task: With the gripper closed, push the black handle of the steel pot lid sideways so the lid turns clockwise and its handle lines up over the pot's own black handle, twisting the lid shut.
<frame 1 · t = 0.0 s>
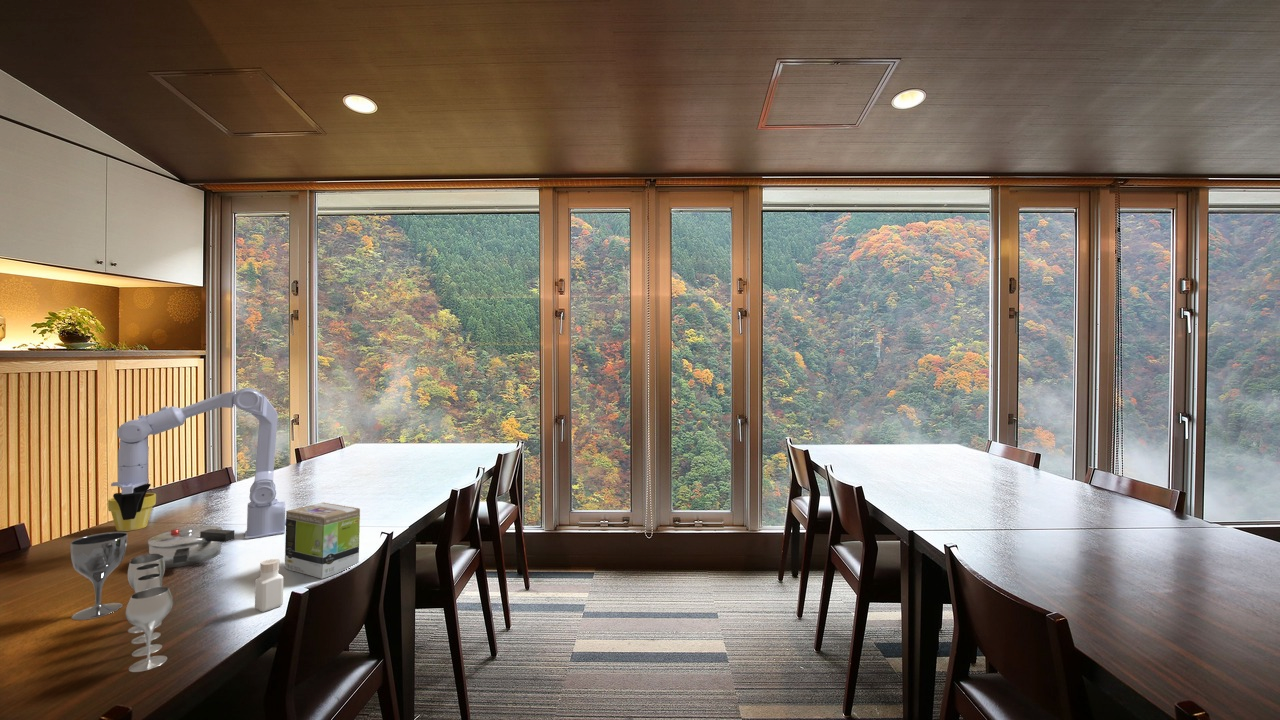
hand: (132, 515, 134), 10 cm above the table, tool pointing down, fingers open, 7 cm apart
wine glass: (97, 612, 103), on the table
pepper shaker: (268, 608, 105), on the table
cooker pot: (185, 557, 132), on the table
plant pot: (131, 528, 155), on the table
cooker lid: (196, 534, 131), point 6 cm above the table, hinge at 45.0°
tea box: (322, 568, 126), on the table
goblet set: (146, 640, 93), on the table
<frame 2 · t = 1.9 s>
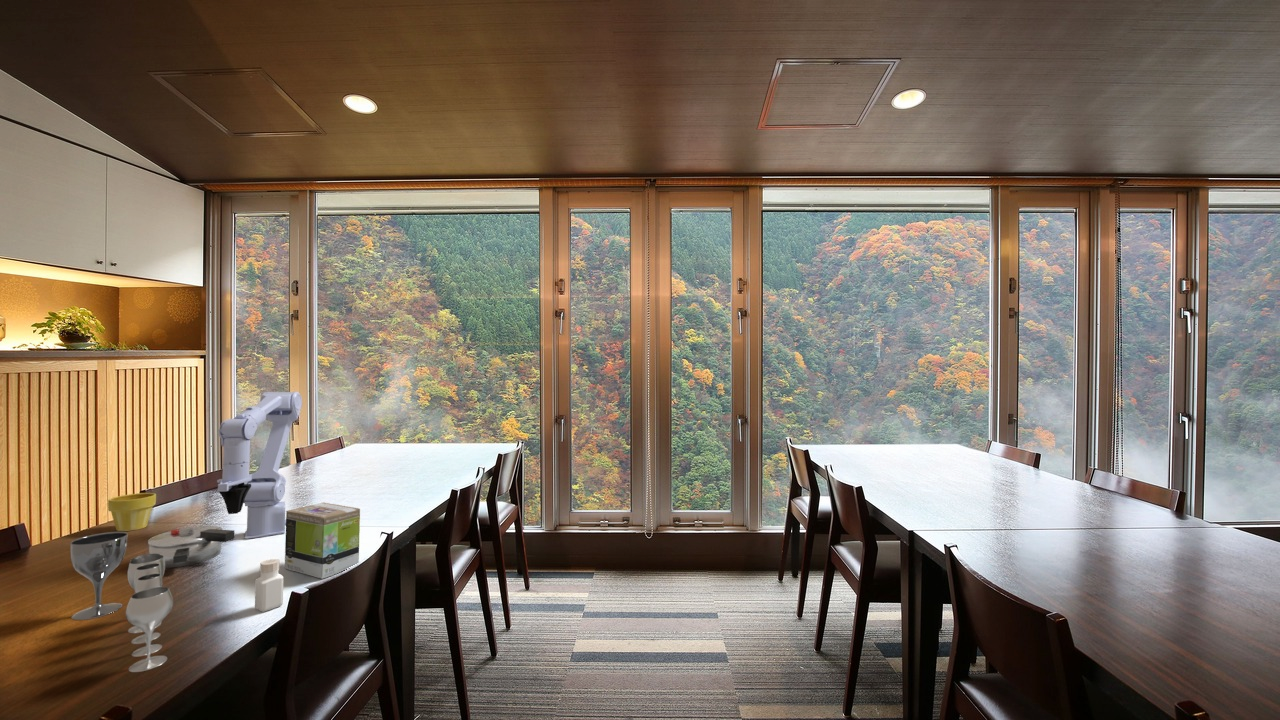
hand: (234, 512, 137), 10 cm above the table, tool pointing down, fingers closed
nothing on the table moved.
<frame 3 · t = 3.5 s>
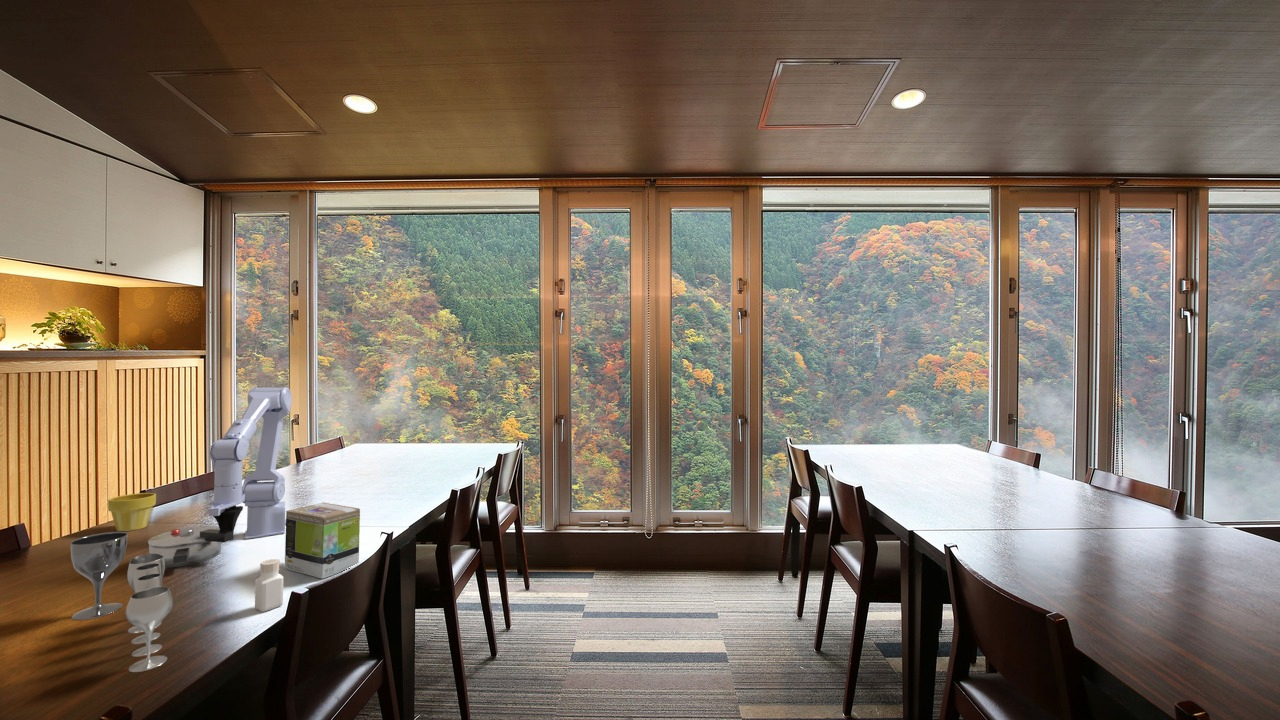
hand: (227, 535, 133), 5 cm above the table, tool pointing down, fingers closed
cooker lid: (195, 534, 131), point 6 cm above the table, hinge at 44.0°, touching gripper
everything else where it was.
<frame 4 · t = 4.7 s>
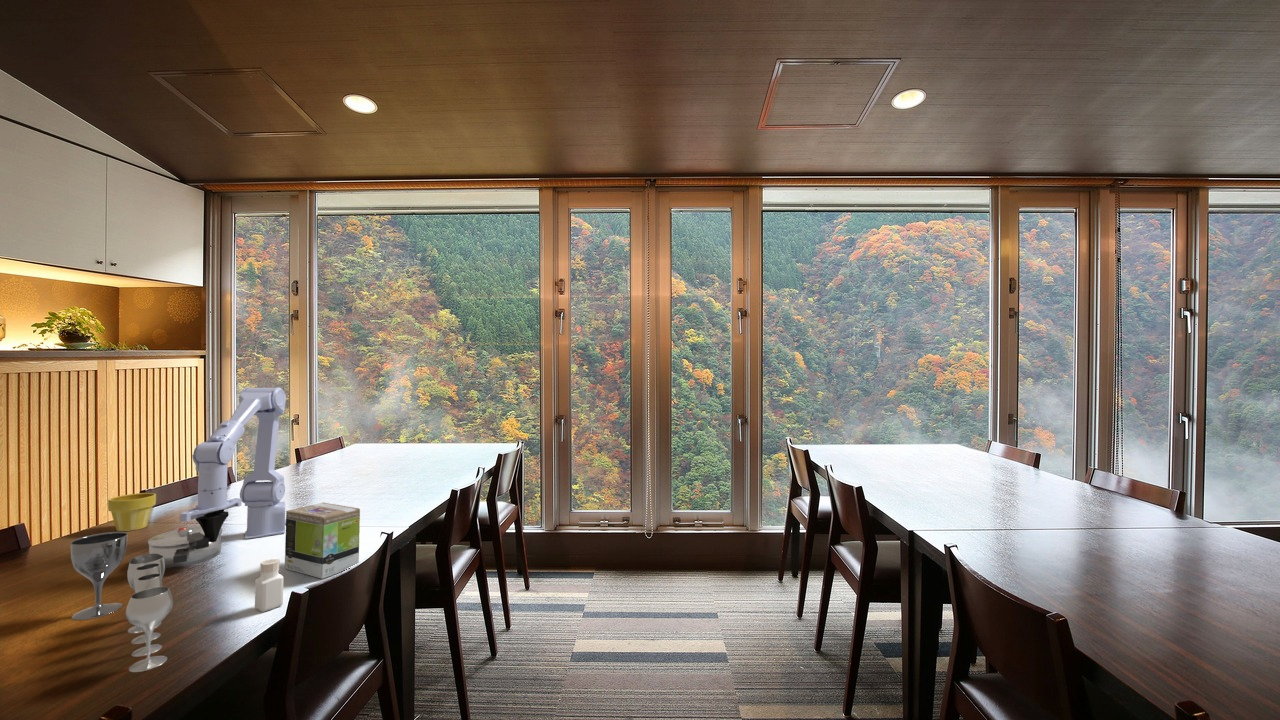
hand: (211, 541, 128), 5 cm above the table, tool pointing down, fingers closed
cooker lid: (190, 535, 130), point 6 cm above the table, hinge at 18.3°, touching gripper
everything else where it was.
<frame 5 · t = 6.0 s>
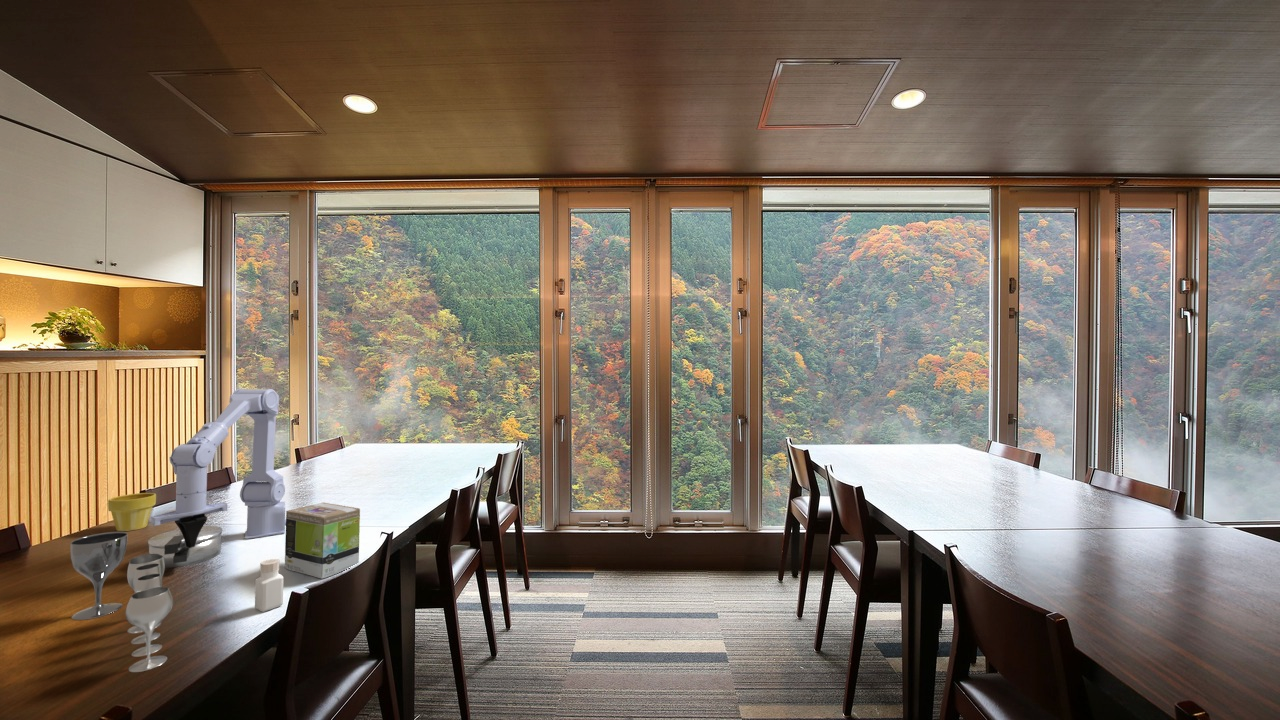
hand: (190, 546, 125), 5 cm above the table, tool pointing down, fingers closed
cooker lid: (183, 536, 129), point 6 cm above the table, hinge at -7.2°, touching gripper
everything else where it was.
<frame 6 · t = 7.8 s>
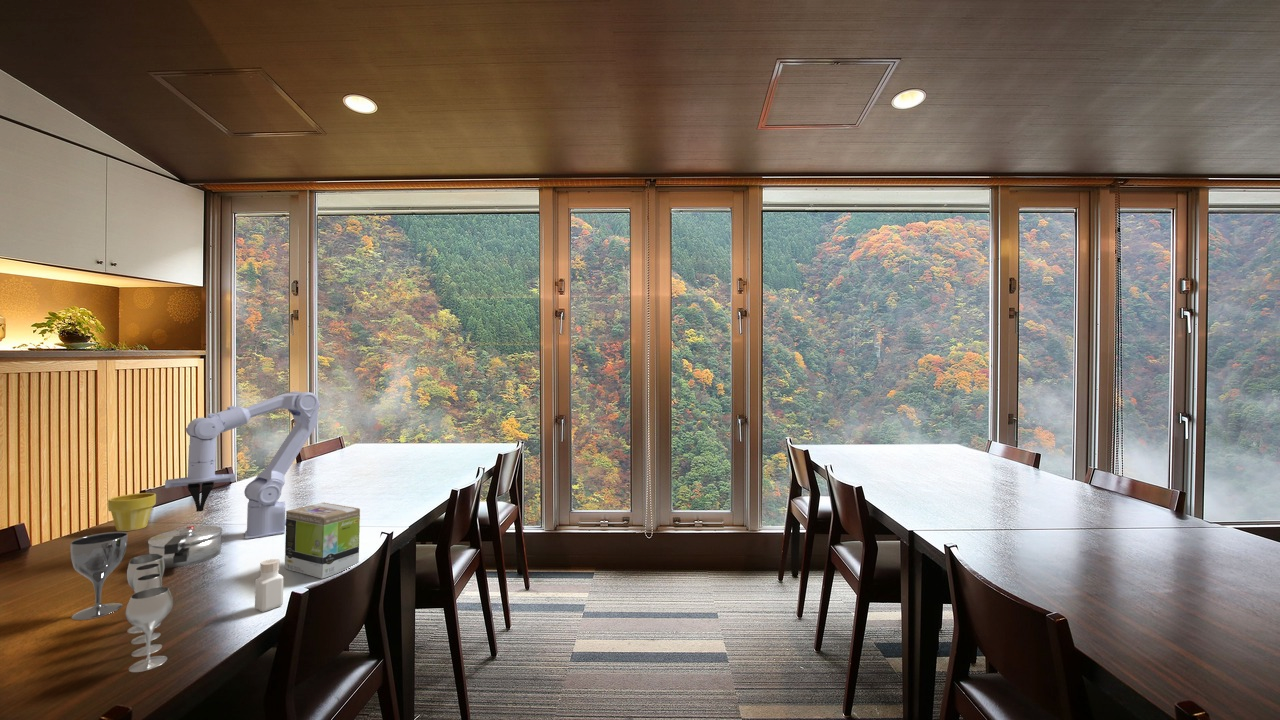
hand: (199, 510, 139), 10 cm above the table, tool pointing down, fingers closed
cooker lid: (183, 536, 129), point 6 cm above the table, hinge at -7.3°
everything else where it was.
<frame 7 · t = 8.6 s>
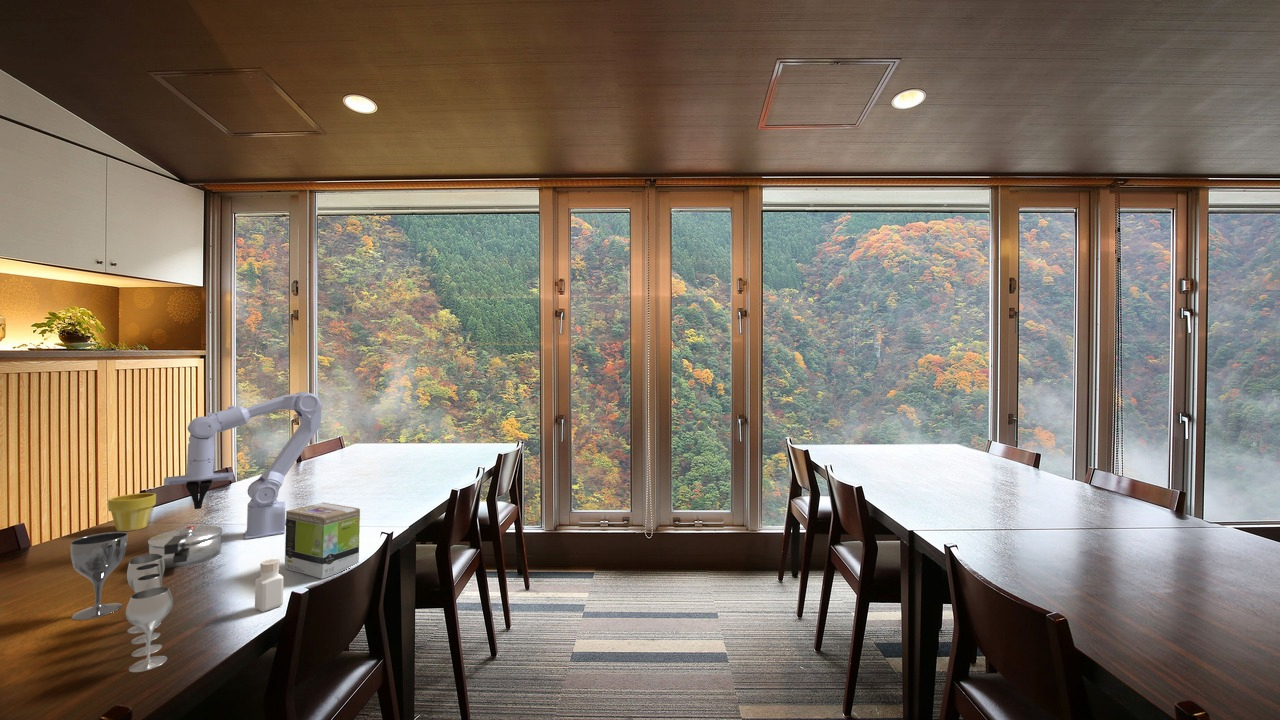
hand: (198, 508, 141), 10 cm above the table, tool pointing down, fingers closed
nothing on the table moved.
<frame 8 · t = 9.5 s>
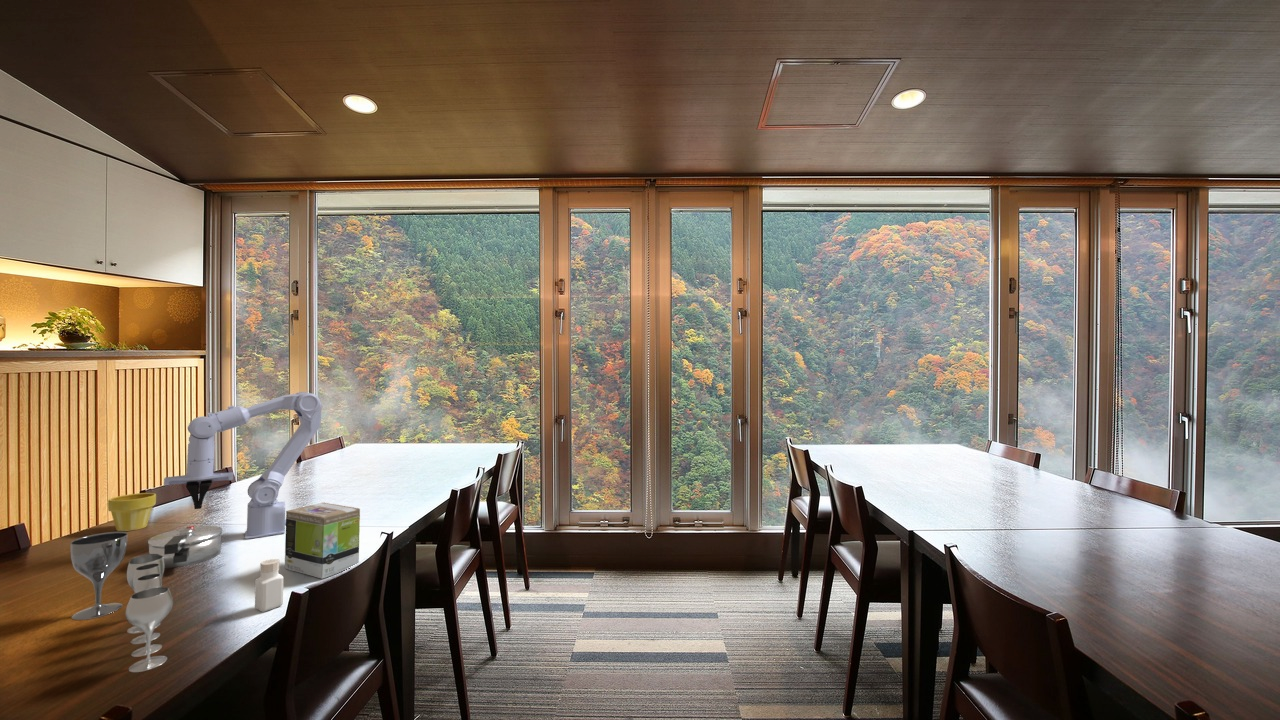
hand: (198, 508, 141), 10 cm above the table, tool pointing down, fingers closed
nothing on the table moved.
at the end: cooker lid at -7° (first picture: +45°) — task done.
